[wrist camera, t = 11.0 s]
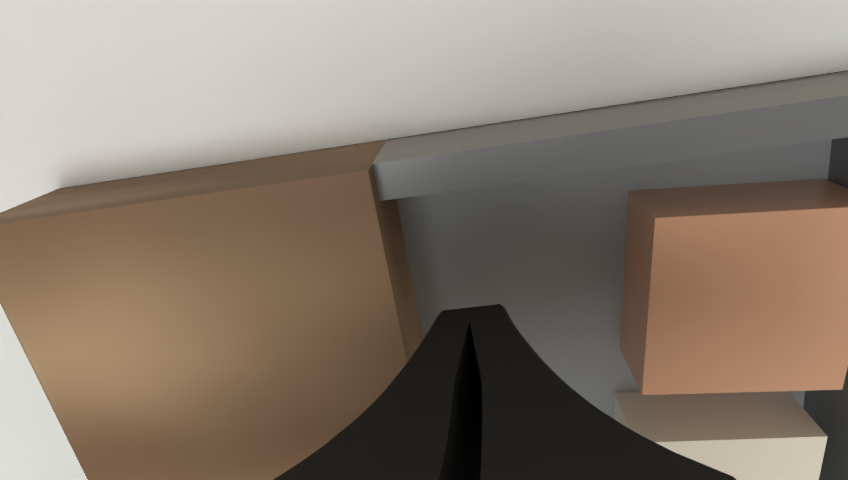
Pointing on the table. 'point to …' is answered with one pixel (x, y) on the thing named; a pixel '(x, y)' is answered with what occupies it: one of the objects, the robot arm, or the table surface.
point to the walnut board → (212, 312)
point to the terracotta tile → (737, 288)
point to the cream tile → (730, 431)
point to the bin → (597, 213)
